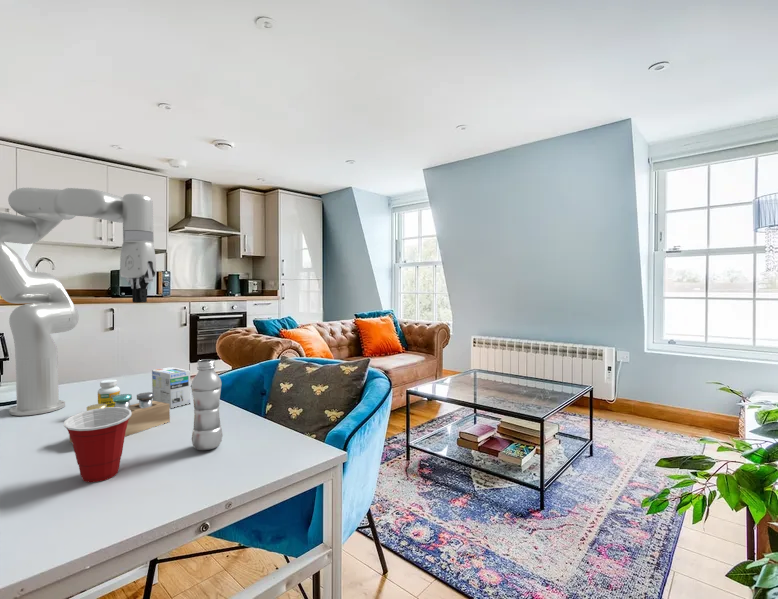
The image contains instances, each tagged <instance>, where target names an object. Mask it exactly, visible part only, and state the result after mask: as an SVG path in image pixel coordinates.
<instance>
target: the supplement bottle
mask: <svg viewBox="0 0 778 599" xmlns="http://www.w3.org/2000/svg"><path fill="white" fill-rule="evenodd" d="M99 385H100V388H99V389H98V390H97V404H107V407H115V402H113V396H116V395H121V389H120V387H119V386H117V385H118V380H117V379H105V380H104V379H103V380H101V381H100V383H99Z"/></svg>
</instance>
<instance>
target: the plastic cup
mask: <svg viewBox="0 0 778 599" xmlns="http://www.w3.org/2000/svg"><path fill="white" fill-rule="evenodd" d="M131 415H132V413H131V410H129V409H127V408H121V407H106V408H99V409H92V410H89V411H87V410H85V411H81V412H79V413H75V414H74V415H72V416H70V417H68V418H66V419H65V420H64V421H63V427H64V428H65V429H66V430H67V432H68V434H70V438H71V439H72V443H71V444H72V447H73V450H74V454H75V459H76V464H77V465H78V469H79V473H80V477H81V479H82V481H83V482H85V483H98V482H103V481H105V480H109V479H111V478H113V477H115V476H117V474H118V473H119V470H120V465H121V459H122V456H123V450H124V444H125V443H124V442H125V437H126V436H125V432H126V429H127V424H128V420H129V418H130V417H131ZM70 438H69V439H70Z"/></svg>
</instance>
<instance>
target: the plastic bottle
mask: <svg viewBox="0 0 778 599" xmlns="http://www.w3.org/2000/svg"><path fill="white" fill-rule="evenodd" d="M215 361H216V360H215V359H207V358H206V359H201V360H200V359H199V360H197V366H196V369H197V370H198V371H197V373H196V375H195V376H194V377H193V379H192V381H191V383H190V389H191V393H192V394H191V396H192V400H193V408H194V409H193V413H194V414H193V415H194V416H193V428H192V432H191V444H192V446H193V448H194V449H195V450H197V451H208V450H213V449H216V448H218V447H219V446H220V445H221V443H222V441H223V440H222V439H223V436H224V434H223V428H222V425H221V416H220V403H221V402H220V401H221V400H220V399H221V392H222V379H221V377H220V376H219V375H218V373H217V372H216V371H215V369H216V362H215Z"/></svg>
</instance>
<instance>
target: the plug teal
mask: <svg viewBox="0 0 778 599" xmlns="http://www.w3.org/2000/svg"><path fill="white" fill-rule="evenodd" d="M132 399H133V396H132V394H131V393H123V394H122V393H120V395H116V396H113V402H115V407H121V408H127V409H129V410H130V401H131V400H132Z"/></svg>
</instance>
